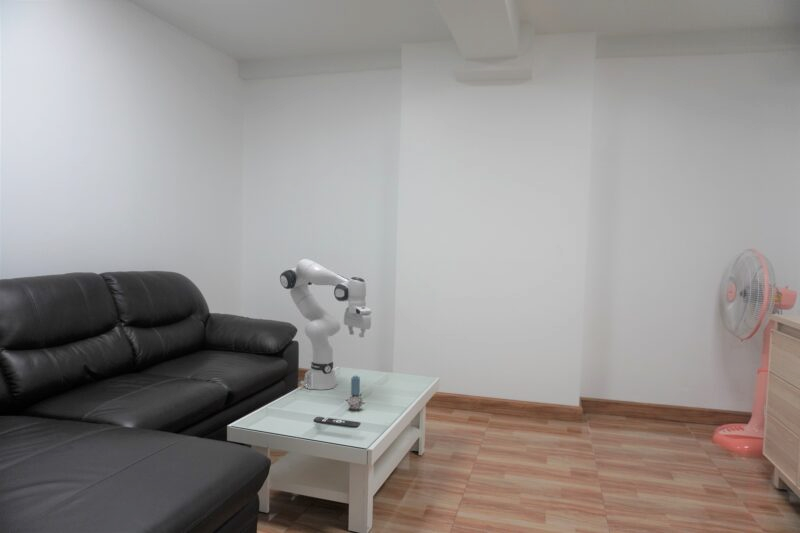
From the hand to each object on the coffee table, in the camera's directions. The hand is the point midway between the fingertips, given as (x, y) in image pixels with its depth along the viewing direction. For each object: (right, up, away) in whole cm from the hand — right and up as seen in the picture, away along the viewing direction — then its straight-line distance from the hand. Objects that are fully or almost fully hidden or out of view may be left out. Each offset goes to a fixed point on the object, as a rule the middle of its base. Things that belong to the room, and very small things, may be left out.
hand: (356, 335), depth 282 cm
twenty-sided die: (0, -35, -13) cm, 37 cm away
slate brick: (+1, -27, -13) cm, 30 cm away
